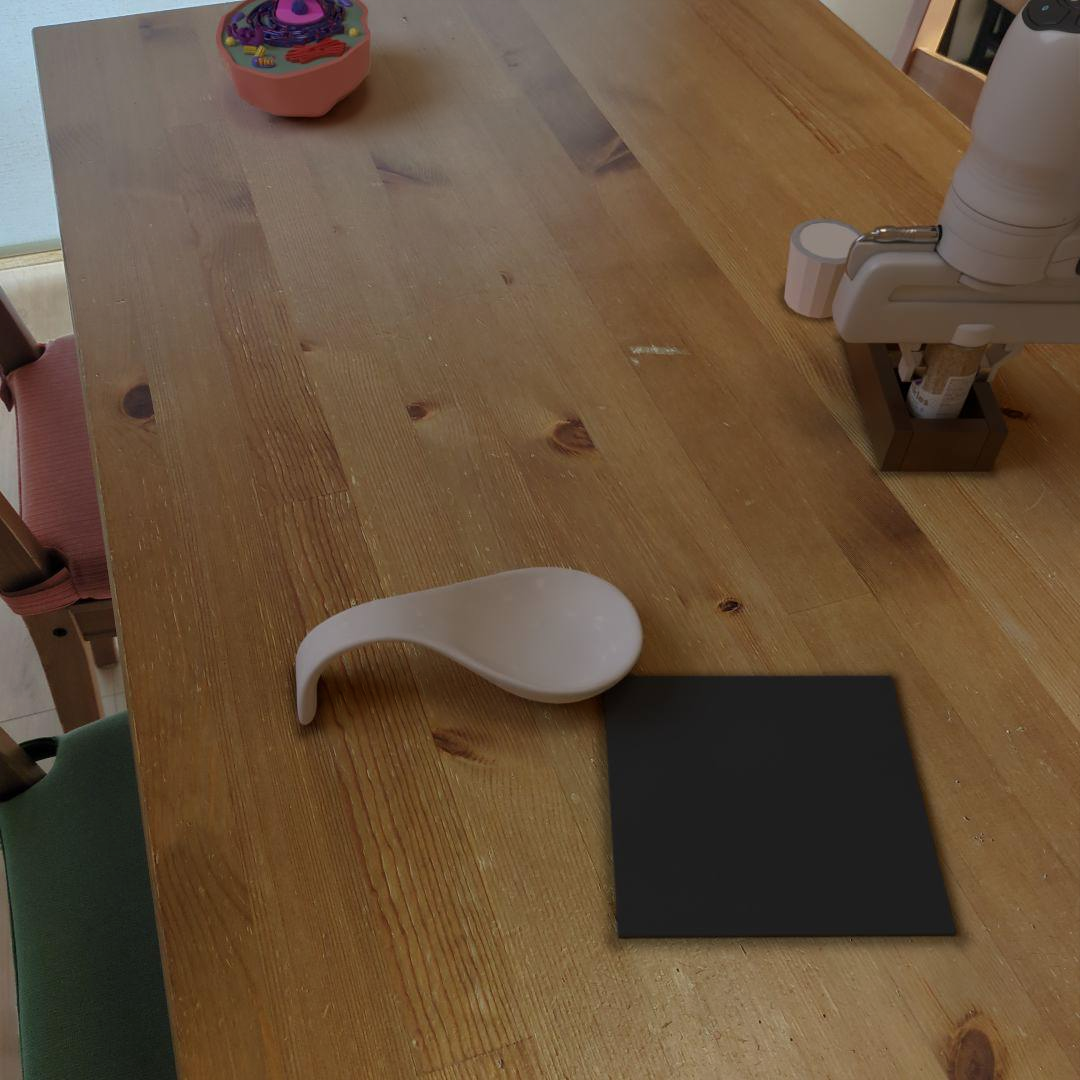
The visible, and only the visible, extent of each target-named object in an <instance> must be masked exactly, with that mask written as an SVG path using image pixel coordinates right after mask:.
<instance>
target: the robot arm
mask: <svg viewBox="0 0 1080 1080" xmlns="http://www.w3.org/2000/svg"><path fill="white" fill-rule="evenodd" d="M969 141H970V142H969V145H968V147H967V149H966V151H965V153H964V154H963V156H962V157H961V158H960V160H959V161H958V163H957V164H956V166H955V169H954V171H953V173H952V177H951V179H950V181H949V185H948V187H947V191H946V194H945V196H944V200H943V203H942V206H941V209H940V211H939V214H938V217H937V220H936V223H935V225H909V226H908V225H907V226H895V225H891V224H890V225H889V224H884V225H878V226H875V227H874V229H873V230H871V231H868V232H865V233H864V234H863V233H862V234H863V235H861V236H860V237H858V238H856V239H854V241H853V242H852V243H851V245H850V248H849V252H848V255H847V259H846V263H845V273H844V275H843V277H842V279H841V282H840V284H839V287H838V289H837V292H836V295H835V297H834V300H833V304H832V315H833V316H832V320H833V323H834V326H835V329H836V331H837V333H838V334H839V336H840V337H841V338H842V339H844V341H846V342H848V343H898V344H899V347H900V350H899V351H900V353H901V356H902V358H901V361H900V364H899V375H900V378H901V381H902V382H921V381H922V379H923V377H922V375H923V374H924V373H925V371H926V368H927V366H926V363H925V361H924V360H923V358H924V357H923V355H924V354H923V353H922V352H921V351H920V350H919V349H920V347H921V344H922V343H950V341H951V340H952V339H953V337H954V334H955V332H956V329H957V327H958V326H959V325H963V324H989V325H993V326H994V330H993V332H992V335H991V337H990V341H989V342H988V343H987V344H988V345H989V344H991V345H990V346H989V347H988V348H986V350H985V352H984V355H983V357H982V359H981V362H980V365H979V369H978V371H977V373H976V376H975V378H974V380H973V382H989V383H993V382H994V380H995V377H996V375H997V373H998V370H999V369H1000V368H1001V367H1003V366H1004V365H1006V364H1007V363H1008V362H1010V361H1011V360H1012V359H1014V358H1015V357H1016V356H1017V355H1019V354H1020V353H1022V351H1023V349H1024V347H1025V345H1080V0H1027V2H1026V3H1025V4H1023V6H1022V8H1021V9H1020V10H1019V11H1018V13H1017V14H1016V16H1015V17H1014V19H1013V20H1012V22H1011V23H1010V25H1009V27H1008V29H1007V30H1006V33H1005V34H1004V36H1003V38H1002V40H1001V43H1000V45H999V47H998V48H997V51H996V53H995V56H994V58H993V61H992V63H991V65H990V68H989V69H988V73H987V75H986V78H985V81H984V82H983V86H982V89H981V91H980V94H979V97H978V99H977V102H976V106H975V107H974V110H973V114H972V118H971V125H970V140H969Z"/></svg>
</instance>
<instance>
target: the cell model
mask: <svg viewBox="0 0 1080 1080" xmlns="http://www.w3.org/2000/svg"><path fill="white" fill-rule="evenodd" d="M368 23H369V9H368V7H367V5H366V4H365V3H364V2H362V1H361V0H244V1H242V2H240V3H239V4H237V5H236V6H235V7H234V8H232V9H231V10H230V11H228V12H227V13H224V15H222V16H221V18H220V21H219V23H218V26H217V28H216V33H215V35H216V36H215V42H216V47H217V50H218V54H219V58H220V60H221V63H222V66H223V69H224V70H225V72H226V74H227V76H228V77H229V79H230V81H231V82H232V85H233V87H234V91H235V92H236V94H237V95H238V96H239V98H240V99H241V100H243V102H245V103H247V104H249V105H250V106H252V107H254V108H257V109H258V110H261V111H263V112H266V113H268V114H271V115H274V116H278V117H284V118H285V117H287V118H288V117H289V118H290V117H292V118H296V117H297V118H319V117H323V116H325V115H326V114H328V113H329V112H330V111H331V110H332V109H333V108H334V107H335V106H336V105H337V104H339V103H340V102H341V101H342V100H344V99H346V98H347V97H348V96H349V95H350V94H351V93H352V92H354V90H356V89H357V88H358V87H359V86H360V85H361V83H362V82H363V81H364V80H365V78H366V77H367V76H369V73H370V71H371V68H372V54H371V39H372V38H371V36H372V34H371V31H370V29H369V24H368Z"/></svg>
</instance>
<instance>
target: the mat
mask: <svg viewBox="0 0 1080 1080" xmlns="http://www.w3.org/2000/svg"><path fill="white" fill-rule="evenodd" d="M603 704H604V705H603V706H604V720H605V721H604V722H605V737H606V738H605V739H606V754H607V755H606V756H607V757H606V758H607V770H608V771H607V773H608V788H609V790H608V791H609V804H610V805H609V806H610V807H609V808H610V823H611V825H610V826H611V840H612V856H613V857H612V858H613V874H614V891H615V906H616V924H617V925H616V926H617V938H618V939H703V938H705V939H707V938H709V939H712V938H714V939H715V938H718V939H719V938H720V939H721V938H723V939H724V938H726V939H727V938H844V937H845V938H849V937H850V938H853V937H854V938H855V937H856V938H857V937H858V938H859V937H861V938H862V937H866V938H867V937H869V938H871V937H955V936H956V935H958V932H957V927H956V923H955V920H954V915H953V912H952V908H951V904H950V899H949V896H948V892H947V888H946V884H945V881H944V876H943V872H942V868H941V865H940V861H939V858H938V853H937V849H936V844H935V841H934V837H933V833H932V829H931V825H930V822H929V817H928V813H927V810H926V806H925V801H924V799H923V794H922V790H921V787H920V782H919V778H918V775H917V771H916V767H915V763H914V759H913V756H912V751H911V748H910V744H909V740H908V736H907V731H906V728H905V724H904V721H903V716H902V712H901V708H900V704H899V701H898V697H897V692H896V689H895V686H894V681H893V678H892V675H626V676H625V677H624V678H623V679H622V680H620V681H619V682H618V683H617V684H615V685H614V686H613V687H611V688H609V689H607V690H606V691H604V692H603Z"/></svg>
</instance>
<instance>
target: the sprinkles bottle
mask: <svg viewBox="0 0 1080 1080" xmlns="http://www.w3.org/2000/svg"><path fill="white" fill-rule="evenodd" d="M993 330H994V326H993V325H989V324H963V325H959V326H958V327H957V329H956V332H955V334H954V337H953V339H952V340H951V341H950V343H927V346H926V349H925V350H924V352H923V354H922V355H923V357H924V358H923V360H924V361H925V363H926V366H927V368H926V371H925V373H924V374H923V375H922V377H923V379H922V381H921V382H912V384H911V386H910V389H909V392H908V394H907V397H906V402H905V406H906V409H907V412H908V415H909V418H910V419H911V418H925V419H957V417H958V416H959V414H960V411H961V409H962V407H963V404H964V402H965V399H966V397H967V395H968V392H969V390H970V388H971V385H972V383H973V380H974V378H975V376H976V373H977V371H978V369H979V365H980V362H981V359H982V357H983V355H984V352H985V351H986V350H987V347H988V345H989V344H987V343H988V342H989V341H990V337H991V335H992V332H993Z"/></svg>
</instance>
